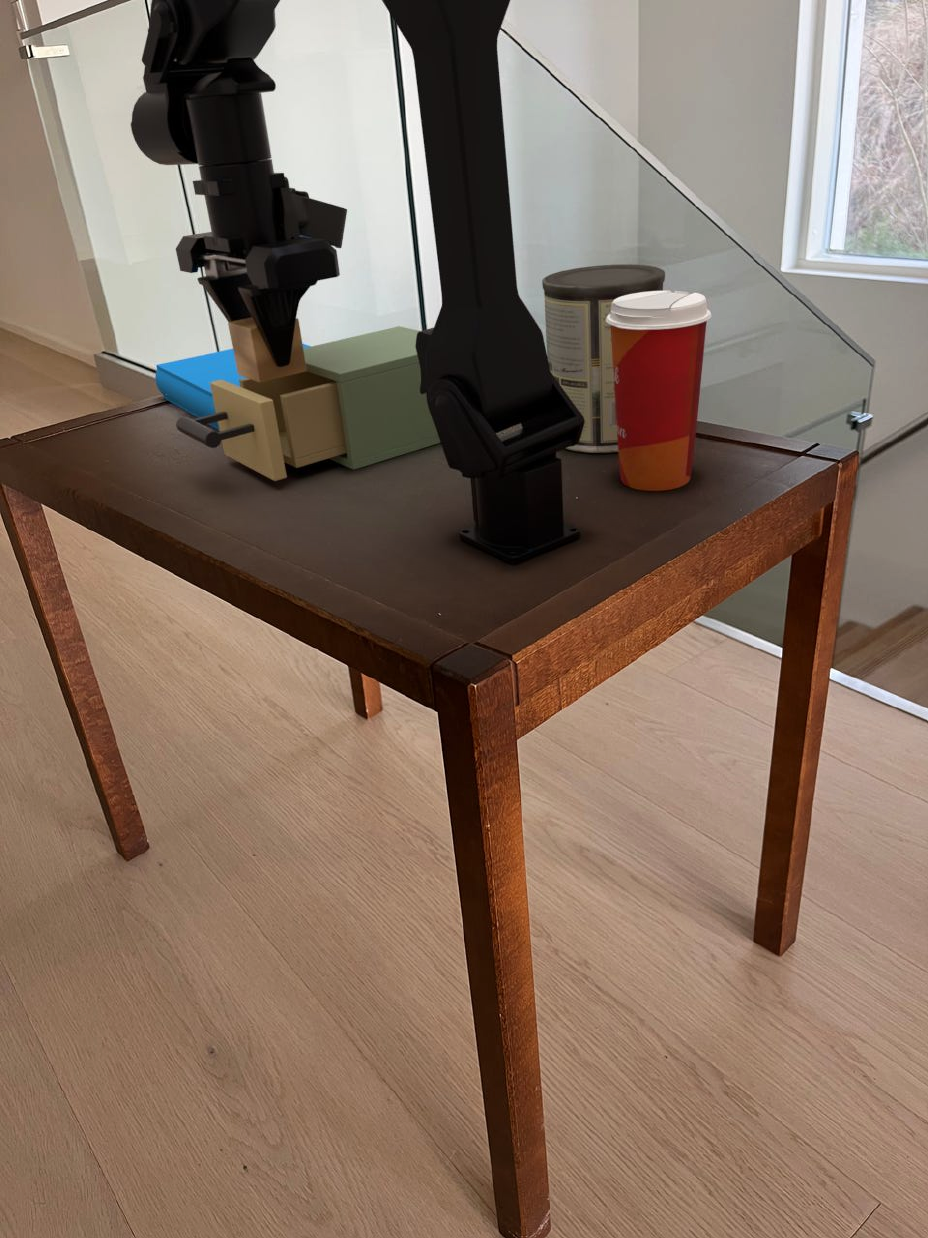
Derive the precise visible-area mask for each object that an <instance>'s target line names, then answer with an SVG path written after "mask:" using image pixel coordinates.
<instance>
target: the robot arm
mask: <svg viewBox="0 0 928 1238" xmlns="http://www.w3.org/2000/svg"><path fill="white" fill-rule="evenodd" d="M381 1H382V3H383V5H384V6H385V8H386V10H387V11H388V13H389V15H390V16H391V18H392V19H393V21H394V23H395V24H396V26H397V27H398V29H399V31H400V33H401V34H402V36H403V37H404V39H405V41H406V42H407V44H408V46H409V48H410V49H411V53H412V59H413V65H414V73H415V81H416V90H417V97H418V107H419V116H420V123H421V132H422V139H423V148H424V158H425V167H426V173H427V181H428V182H427V183H428V192H429V199H430V200H429V201H430V207H431V209H430V210H431V215H432V216H431V218H432V225H433V234H434V241H435V251H436V259H437V267H438V275H439V285H440V291H441V306H440V309H439V312H438V315H437V318H436V320H435V323H434V325H433V327H430V328H426V329H423V330H419V331H420V332H418V333H417V337H416V345H415V347H416V352H417V356H418V360H419V364H420V369H421V384H420V393H421V394H425V393H426V396H427V403H428V407H429V411H430V414H431V416H432V419H433V421H434V424H435V427H436V430H437V433H438V436H439V439H440V442H441V443H440V445H441V448H442V451H443V454H444V457H445V460H446V462H447V465H448V467H449V468H450V469H453V470H456V471H459V472H460V473H461V476H462V478H466V479H470V490H471V492H470V493H471V502H472V515H473V521H474V522H475V523H474V524H472V525H470V526H468V527H465V528H463V529H461V530H458V538H459V539H461V540H463V541H465V542H466V543H468V544H470V545H472V546H474V547H477V548H479V549H481V550H483V551H485V552H487V553H490V554H491V555H493V556H496V557H498V558H500V559H501V560H504V561H505V562H508V563H518V562H521V561H523V560H526V559H528V558H530V557H534V556H536V555H538V554H540V553H543V552H546V551H548V550H550V549H553V548H555V547H558V546H561V545H562V544H563V545H564V544H565V543H567V542H570V541H572V540H575V539H577V538H579V537H581V528H579V527H577V526H575V525H573V524H570V523H567V522H565V521H564V499H563V497H564V495H563V494H564V493H563V470H562V469H563V465H562V459H561V458H559V457H557V453H559V452H561V451H563V450H566V449H565V448H567V447H569V446H575V445H577V444H578V443H579V440H580V437H581V433H582V430H583V426H584V423H585V420H584V417H583V416H582V414H581V413H580V412H579V410H578V409H577V407H576V406H575V405H574V403H573V402H572V401H571V399H570V398H569V396H568V395H567V394H566V392H565V391H564V390H563V388H562V387H561V386H560V384H559V383H558V381H557V380H556V379H555V377H554V376H553V375H552V373H551V372H550V367H549V363H548V358H547V347H546V344H545V339H544V338H545V337H544V333H543V331H542V329H541V328H540V326H539V324H538V323H537V321H536V319H535V318H534V316H533V315H532V313H531V312H530V310H529V309H528V308H527V306H526V305H525V303H524V302H523V300H522V298H521V297H520V294H519V290H518V281H517V268H516V257H515V256H516V255H515V243H514V234H513V222H512V221H513V220H512V207H511V198H510V186H509V174H508V161H507V160H508V159H507V149H506V148H507V147H506V138H505V137H506V136H505V125H504V113H503V101H502V90H501V78H500V77H501V76H500V67H499V55H498V54H499V53H498V38H499V34H500V32H501V28H502V25H503V23H504V20H505V17H506V15H507V11H508V9H509V6H510V3H511V0H381ZM280 2H281V0H151V3H150V9H149V10H150V13H149V22H148V28H147V35H146V39H145V43H144V48H143V52H142V57H141V62H142V64H143V66H144V69H143V76H142V80H143V85H144V89H145V91H144V92H143V93H142V94H141V95H140V96H139V97H138V99H137V100H136V101H135V104H134V105H133V109H132V113H131V122H130V129H131V134H132V136H133V139H134V142H135V143H136V144H137V147H138V149H139V150H140V152H141V153H142V154H143V155H144V156H145V157H146V158H148V159H149V160H151V161H152V162H154V163H156V164H159V165H161V166H162V165H163V166H182V165H184V166H185V165H198V170H199V175H200V179H196V180H192V185H193V190H194V195H195V196H204V202H205V205H206V210H207V215H208V221H209V226H210V230H211V231H207V232H201V233H195V234H188V235H182V237H181V239H180V241H179V242H178V244H177V245H176V248H175V253H176V258H177V262H178V266H179V271H180V272H184V273H189V274H194V273H198V272H199V268H204V274H205V276H200V277H197V281H198V284H199V285H200V286H202V287H203V288H204V290H205V291H206V292H207V294H208V295H209V297H210V298H211V299H212V301H213V302H214V303H215V305H216V307H217V308H218V309H219V311H220V312H221V314H222V315H223V316H224V318H225V320H226V321H227V323H228V322H232V321H237V320H242V319H247V318H251V317H252V318H253V320H254V322H255V324H256V326H257V328H258V330H259V332H260V334H261V336H262V338H263V341H264V343H265V345H266V347H267V349H268V351H269V353H270V354H271V356H272V358H273V360H274V362H275V364H276V365H277V366H278V367H283V366H287V365H289V364H290V359H291V352H292V344H293V336H294V329H295V321H296V318H297V314H298V310H299V304H300V301H301V300H302V298H303V297H304V296H305V294H306V293H307V291H308V290H309V289H310V288H311V287H313V286H316V285H317V283H318V282H319V281H324V280H329V279H335V278H338V277H339V276H340V275H341V274H340V267H339V265H340V264H339V258H338V250H337V249H342V247H343V242H344V241H343V240H344V234H345V228H346V222H347V215H348V209H347V208H345V207H342V206H338V205H335V204H332V203H328V202H325V201H321V200H318V199H314V198H311V197H310V195H309V193H308V191H303V190H297V189H296V188H294V187H290V182H289V178H288V177H287V176H285V172H275V171H274V170H275V169H274V164H273V163H274V162H273V159H272V152H271V145H270V140H269V134H268V133H269V132H268V128H267V120H266V114H265V109H264V103H263V96H262V94H263V93H264V94H265V93H271V92H274V91H276V88H277V85H276V82H275V80H274V79H273V78H272V77H271V76H270V75H269V74H268V73H267V72H266V71H264V70H263V69H262V68H260V67H259V66H258V63H256V61H255V60H256V59H257V57H258V56H259V55H260V54H261V52H262V51H263V49H264V47H265V46H266V44H267V43H268V41H269V39H270V38H271V36H272V34H273V33H274V31H275V30H276V26H277V24H276V23H277V22H276V8H277V6H278V5H279V3H280ZM520 424H521V428H520V429H518V430H515V431H514V432H510V433H508V434H505V435H503V436H500V437H499V435H498V433H501V432H503V431H506V430H508V429H510V428H512V427H515V426H518V425H520Z"/></svg>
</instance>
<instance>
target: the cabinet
mask: <svg viewBox="0 0 928 1238" xmlns="http://www.w3.org/2000/svg"><path fill="white" fill-rule="evenodd" d="M420 331H421V330H418V329H413V328H408V327H404V326H400V325H398V326H395V327H394V326H393V327H390V328H385V329H381V330H377V331H372V332H369V333H365V334H360V335H355V336H350V337H346V338H342V339H339V340H332V341H329V342H325V343H320V344H316V345H311V346H312V347H307V348H303V351H304V357H305V363H306V369H307V372H310V373H313V374H316V375H319V376H322V377H325V378H328V379H331V380H334V381H337V388H338V395H339V402H340V408H341V415H342V422H343V429H344V436H345V443H346V449H347V453H345V454H342V455H338V456H335V457H332V458H328V459H329V460H331V461H333V462H336V463H337V464H340V465H342V466H344V467H346V468H348V469H351V470H352V471H355V470H357V469H361V468H364V467H368V466H370V465H374V464H377V463H380V462H383V461H387V460H390V459H393V458H397V457H400V456H402V455H405V454H409V453H412V452H415V451H418V450H422V449H425V448H428V447H431V446H434V445H438V444H441V442H440V439H439V436H438V433H437V430H436V427H435V424H434V421H433V419H432V416H431V414H430V411H429V407H428V403H427V396H426V393H425V394H421V393H420V384H421V369H420V364H419V360H418V356H417V352H416V347H415V345H416V337H417V333H418V332H420Z"/></svg>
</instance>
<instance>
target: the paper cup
mask: <svg viewBox="0 0 928 1238" xmlns="http://www.w3.org/2000/svg"><path fill="white" fill-rule="evenodd" d="M711 318H712V313H711V311H710V309H708V304H707V298H706V296H705V295H704V294H701V293H699V292H693V293H691V292H689V291H681V290H680V291H679V290H674V292H672V290H663V291H649V292H640V293H634V294H629V295H625V296H621V297H618V298H616V299H615V300H614V301H613V302H612V305H611V312H610V314H609V315H608V316H607V318H606V322H607V323H608V324H610V327H611V343H612V359H613V376H614V392H615V408H616V424H617V439H618V452H617V453H618V463H619V465H618V466H619V474H620V480H621V482H622V484H624V485H625V486H627V487H628V488H631V489H634V490H638V491H645V492H648V491H649V492H661V491H670V490H674V489H678V488H681V487H683V486H685V485H688V483H689V482H690V481H691V478H692V471H693V464H694V463H693V462H694V455H695V445H696V444H695V443H696V434H697V425H698V417H699V415H698V414H699V405H700V397H701V396H700V394H701V383H702V374H703V373H702V372H703V365H704V363H703V362H704V354H705V353H704V352H705V341H706V333H707V332H706V331H707V321H709V320H711Z"/></svg>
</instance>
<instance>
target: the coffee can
mask: <svg viewBox="0 0 928 1238" xmlns="http://www.w3.org/2000/svg"><path fill="white" fill-rule="evenodd" d="M665 279H666V271H665V270H664V269H662V268H660V267H657V266H652V265H647V264H603V265H591V266H581V267H577V268H576V267H575V268H571V269H565V270H561V271H560V270H559V271H557V272H554V273H551V274H548V275H547V276H545V277H543V278H542V280H541V283H542V289H543V294H544V295H543V296H544V312H545V313H544V317H545V319H544V320H545V339H546V340H545V342H546V353H547V358H548V363H549V367H550V372H551V373H552V375H553V376H554V377H555V379H556V380H557V381H558V383H559V384H560V386H561V387H562V388H563V390H564V391H565V392H566V394H567V395H568V396H569V398H570V399H571V401H572V402H573V403H574V405H575V406H576V407H577V409H578V410H579V412H580V413H581V414H582V416H583V417H584V420H585V423H584V426H583V430H582V433H581V437H580V440H579V443H578V444H577V445H575V446H569V447H567V448H565V449H564V450H568V451H572V452H578V453H586V454H587V453H588V454H613V453H618V439H617V424H616V408H615V392H614V376H613V359H612V343H611V327H610V324H608V323H607V322H606V318H607V316H608V315H609V314H610V312H611V305H612V302H613V301H614V300H615V299H616V298H618V297H621V296H625V295H629V294H634V293H640V292H649V291H664V283H665Z"/></svg>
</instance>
